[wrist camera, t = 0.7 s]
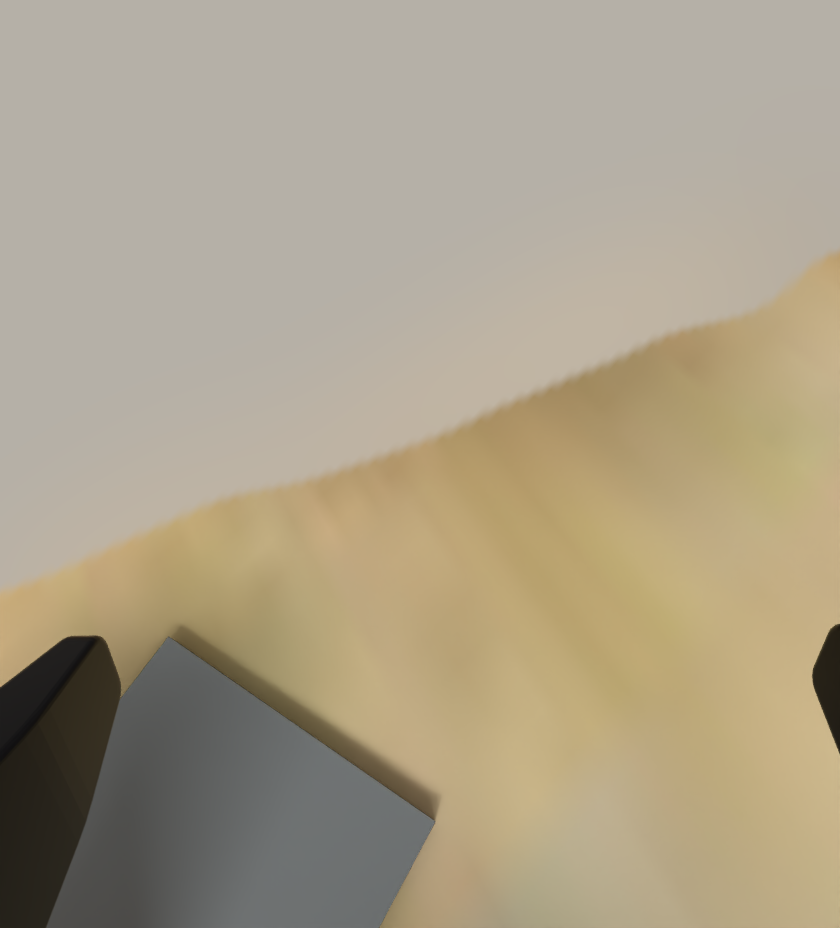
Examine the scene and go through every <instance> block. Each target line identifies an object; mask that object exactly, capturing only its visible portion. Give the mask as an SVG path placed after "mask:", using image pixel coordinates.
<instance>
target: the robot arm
mask: <svg viewBox="0 0 840 928" xmlns="http://www.w3.org/2000/svg"><path fill="white" fill-rule="evenodd" d="M812 678H813V685H814V689H815V692H816V694H817V697H818V700H819V702H820V705H821V707H822V710H823V712H824V715H825V718H826V720H827V723H828V725H829V728H830V730H831V733H832V736H833V738H834V741H835V743H836V746H837V748H838V751H839V754H840V624H837V625H835V626H834V627H832V628H831V629H830V631H829V633H828V635H827V637H826V640H825V642H824V644H823V646H822V649H821V651H820V653H819V656H818V658H817V660H816V663H815V665H814V668H813V674H812ZM120 695H121V682H120V678H119V675H118V672H117V670H116V667H115V664H114V661H113V659H112V656H111V653H110V651H109V648H108V645H107V643H106V641H105V640H104V639H103V638H102V637H100V636H70V637H67V638H65V639H63V640H61V641H60V642H59V643H57V644H56V645H55V646H53V647H52V648H51V649H50V650H48V651H47V652H46V653H44V654H43V655H42V656H40V657H39V658H38V659H37V660H35V661H34V662H33V663H31V664H30V665H29V666H27V667H26V668H25V669H24V670H22V671H21V672H20V673H18V674H17V675H16V676H15V677H13V678H12V679H11V680H9V681H8V682H7V683H5V684H4V685H3V686H2V687H0V928H46V927H47V924H48V922H49V919H50V917H51V914H52V911H53V909H54V906H55V904H56V901H57V898H58V896H59V893H60V891H61V888H62V885H63V883H64V880H65V878H66V875H67V872H68V870H69V867H70V864H71V862H72V859H73V857H74V854H75V851H76V849H77V846H78V844H79V841H80V838H81V835H82V832H83V830H84V827H85V824H86V821H87V818H88V814H89V811H90V808H91V804H92V801H93V797H94V794H95V790H96V786H97V782H98V779H99V775H100V771H101V768H102V764H103V760H104V757H105V753H106V749H107V745H108V742H109V738H110V734H111V731H112V727H113V723H114V719H115V716H116V712H117V708H118V705H119V701H120Z"/></svg>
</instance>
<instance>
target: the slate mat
mask: <svg viewBox="0 0 840 928" xmlns="http://www.w3.org/2000/svg"><path fill="white" fill-rule="evenodd" d="M434 823H435V821H434V820H433V819H431V818H430V817H429V816H427V815H426V814H424V813H423V812H421V811H420V810H418V809H417V808H416V807H414V806H413V805H411V804H410V803H408V802H407V801H406V800H404V799H403V798H401V797H400V796H398V795H397V794H395V793H394V792H393V791H391V790H390V789H388V788H387V787H385V786H384V785H382V784H381V783H380V782H378V781H377V780H375V779H374V778H372V777H371V776H369V775H368V774H367V773H365V772H364V771H362V770H361V769H359V768H358V767H356V766H355V765H354V764H352V763H351V762H349V761H348V760H346V759H345V758H343V757H342V756H341V755H339V754H338V753H336V752H335V751H333V750H332V749H330V748H329V747H328V746H326V745H325V744H323V743H322V742H320V741H319V740H317V739H316V738H315V737H313V736H312V735H310V734H309V733H307V732H306V731H304V730H303V729H302V728H300V727H299V726H297V725H296V724H294V723H293V722H292V721H290V720H289V719H287V718H286V717H284V716H283V715H281V714H280V713H279V712H277V711H276V710H274V709H273V708H271V707H270V706H268V705H267V704H266V703H264V702H263V701H261V700H260V699H258V698H257V697H255V696H254V695H253V694H251V693H250V692H248V691H247V690H245V689H244V688H242V687H241V686H240V685H238V684H237V683H235V682H234V681H232V680H231V679H229V678H228V677H227V676H225V675H224V674H222V673H221V672H219V671H218V670H216V669H215V668H214V667H212V666H211V665H209V664H208V663H206V662H205V661H203V660H202V659H201V658H199V657H198V656H196V655H195V654H193V653H192V652H190V651H189V650H188V649H186V648H185V647H183V646H182V645H180V644H179V643H178V642H176V641H175V640H173V639H171V638H170V637H168V638H167V639H166V640H165V642H164V643H163V644H162V646H161V647H160V648H159V649H158V651H157V652H156V653H155V655H154V656H153V657H152V659H151V660H150V661H149V662H148V664H147V665H146V666H145V668H144V669H143V670H142V672H141V673H140V674H139V675H138V677H137V678H136V679H135V681H134V682H133V683H132V685H131V686H130V687H129V688H128V690H127V691H126V692H125V694H124V695H123V696H122V698H121V699H120V701H119V705H118V708H117V712H116V716H115V719H114V723H113V727H112V731H111V734H110V738H109V742H108V745H107V749H106V753H105V757H104V760H103V764H102V768H101V771H100V775H99V779H98V782H97V786H96V790H95V794H94V797H93V801H92V804H91V808H90V811H89V814H88V818H87V821H86V824H85V827H84V830H83V832H82V835H81V838H80V841H79V844H78V846H77V849H76V851H75V854H74V857H73V859H72V862H71V864H70V867H69V870H68V872H67V875H66V878H65V880H64V883H63V885H62V888H61V891H60V893H59V896H58V898H57V901H56V904H55V906H54V909H53V911H52V914H51V917H50V919H49V922H48V924H47V927H46V928H379V927H380V925H381V923H382V921H383V919H384V918H385V916H386V914H387V912H388V910H389V908H390V906H391V904H392V902H393V901H394V899H395V897H396V895H397V893H398V891H399V889H400V887H401V886H402V884H403V882H404V880H405V878H406V876H407V874H408V872H409V870H410V869H411V867H412V865H413V863H414V861H415V859H416V857H417V855H418V853H419V852H420V850H421V848H422V846H423V844H424V842H425V840H426V838H427V837H428V835H429V833H430V831H431V829H432V827H433V825H434Z"/></svg>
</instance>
